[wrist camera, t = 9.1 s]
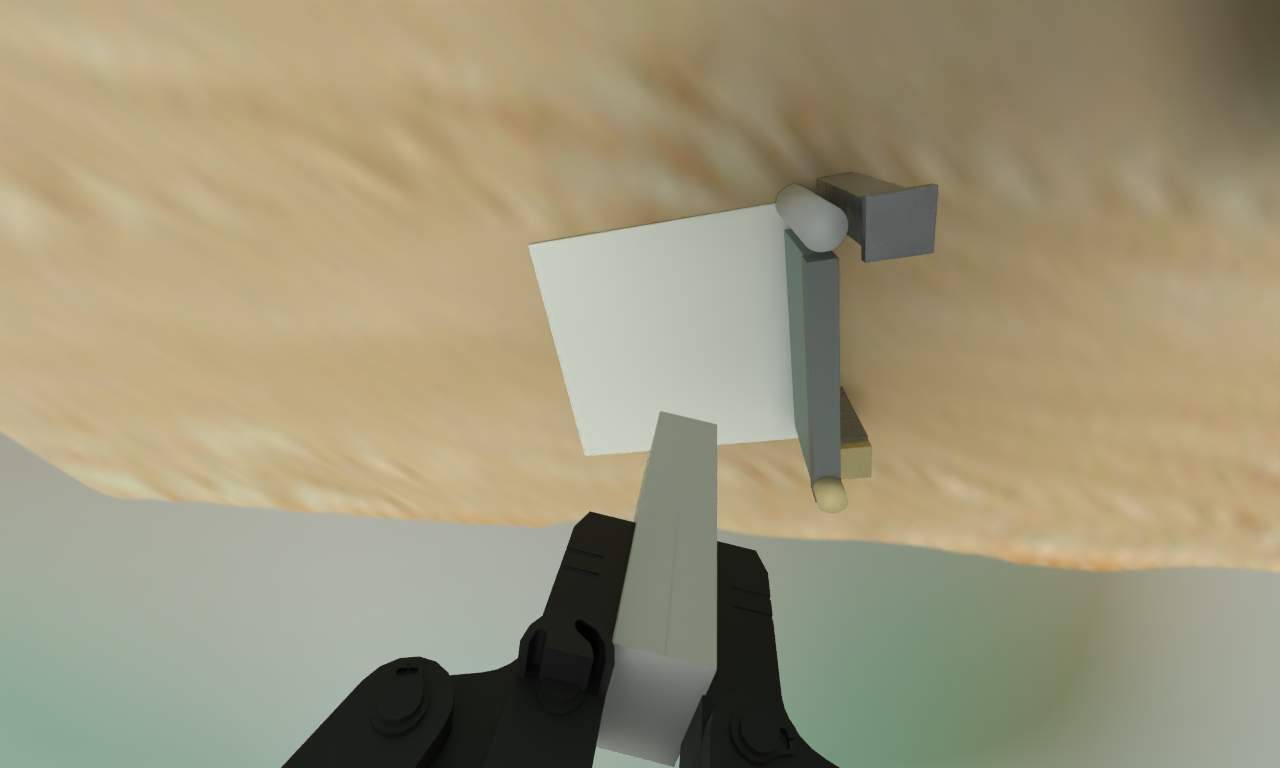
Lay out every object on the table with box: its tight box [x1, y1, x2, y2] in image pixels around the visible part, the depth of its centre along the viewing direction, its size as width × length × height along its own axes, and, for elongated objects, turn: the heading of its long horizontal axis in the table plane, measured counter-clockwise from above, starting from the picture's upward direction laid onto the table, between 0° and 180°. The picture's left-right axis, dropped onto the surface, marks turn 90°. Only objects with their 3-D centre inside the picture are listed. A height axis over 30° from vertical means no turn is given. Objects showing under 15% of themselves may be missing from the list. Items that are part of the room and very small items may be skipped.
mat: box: [528, 203, 798, 456], centre depth 36 cm, size 17×17×1 cm
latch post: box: [840, 386, 872, 479], centre depth 33 cm, size 2×3×7 cm
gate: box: [776, 184, 848, 513], centre depth 29 cm, size 16×2×10 cm, turn 10°
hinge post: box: [817, 172, 938, 263], centre depth 25 cm, size 3×3×12 cm
